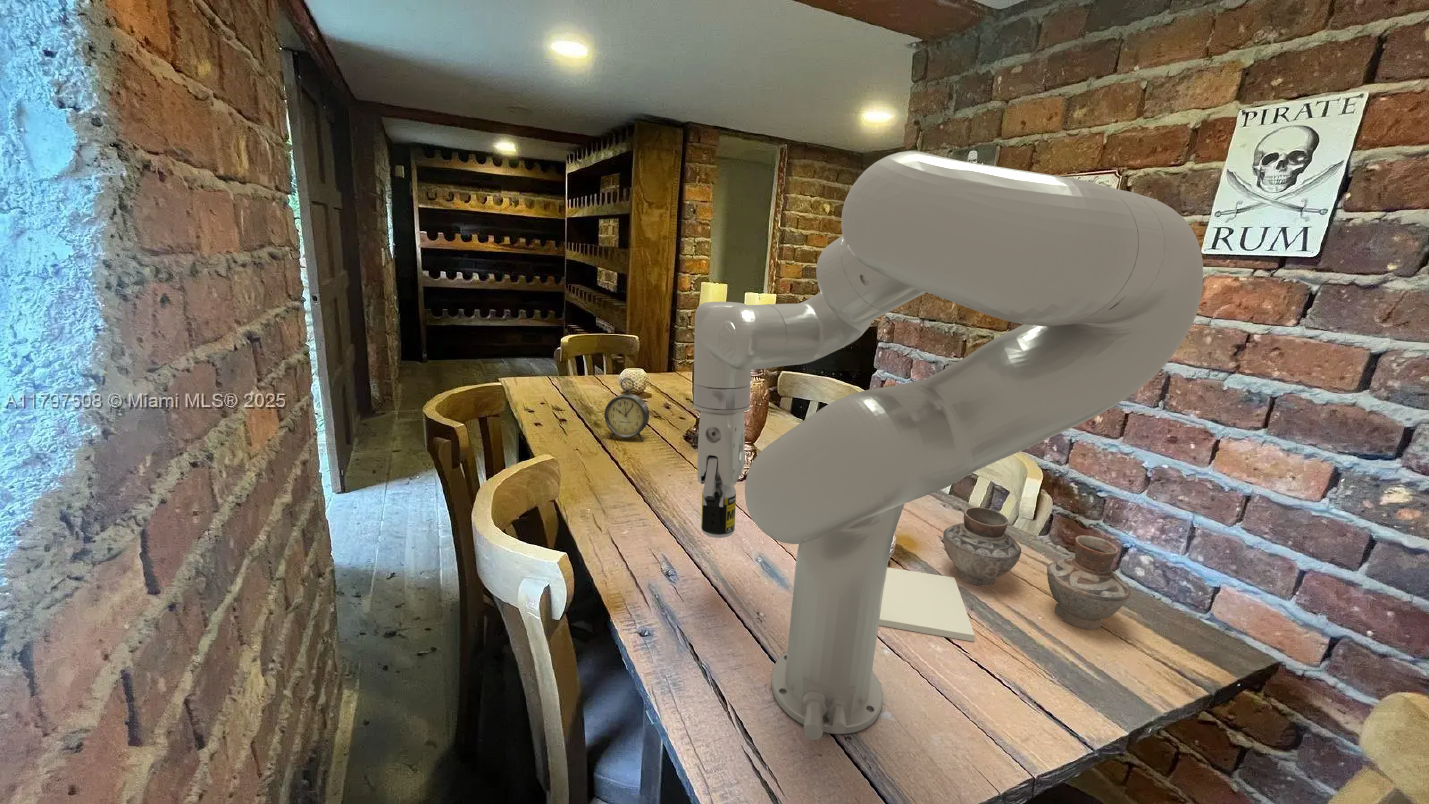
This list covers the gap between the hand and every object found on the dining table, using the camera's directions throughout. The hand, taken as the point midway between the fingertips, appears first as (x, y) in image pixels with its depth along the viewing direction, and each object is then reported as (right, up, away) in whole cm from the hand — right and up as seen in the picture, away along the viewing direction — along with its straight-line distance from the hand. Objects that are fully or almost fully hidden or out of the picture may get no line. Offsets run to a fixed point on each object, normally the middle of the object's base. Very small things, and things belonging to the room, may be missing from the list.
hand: (718, 521), depth 78 cm
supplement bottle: (0, -2, 0) cm, 2 cm away
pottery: (+46, -13, +7) cm, 49 cm away
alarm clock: (-23, +7, +68) cm, 72 cm away
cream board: (+29, -13, +4) cm, 31 cm away
